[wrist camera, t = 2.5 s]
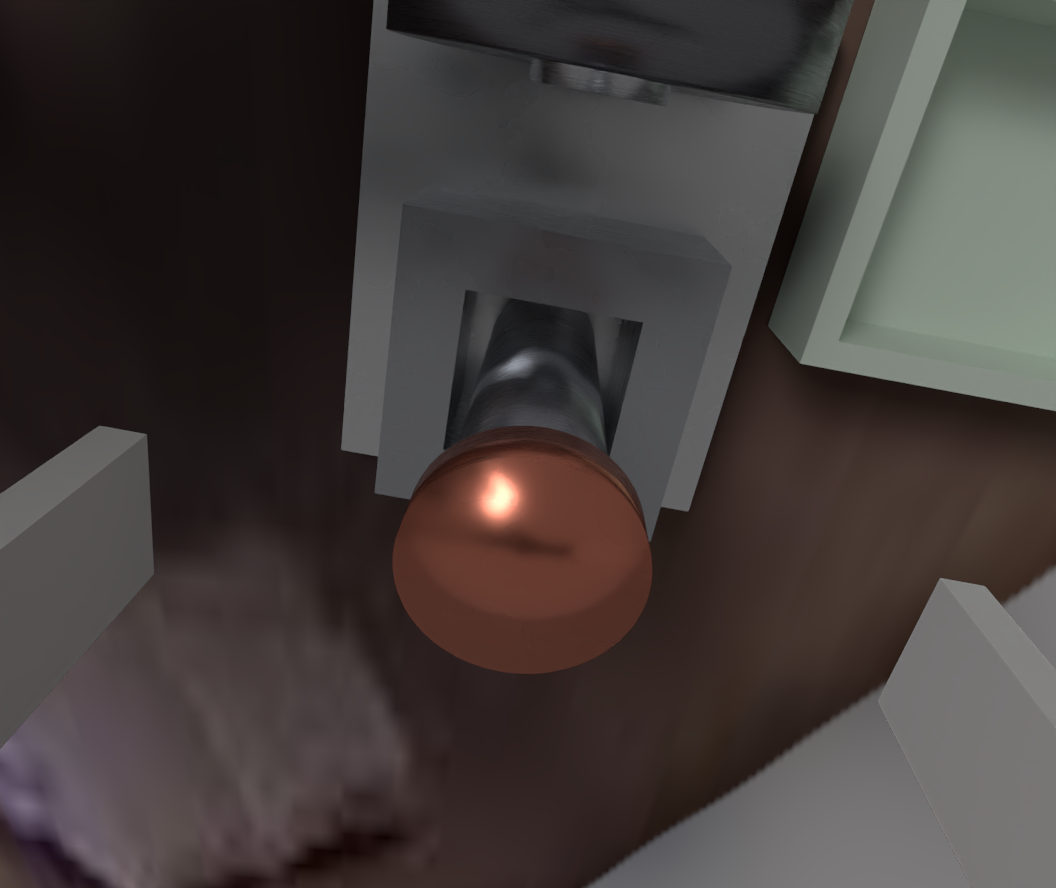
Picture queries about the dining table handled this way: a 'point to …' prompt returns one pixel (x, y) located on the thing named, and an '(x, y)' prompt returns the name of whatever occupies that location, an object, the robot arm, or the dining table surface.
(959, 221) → the tray
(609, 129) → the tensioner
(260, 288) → the dining table surface
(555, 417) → the pin
